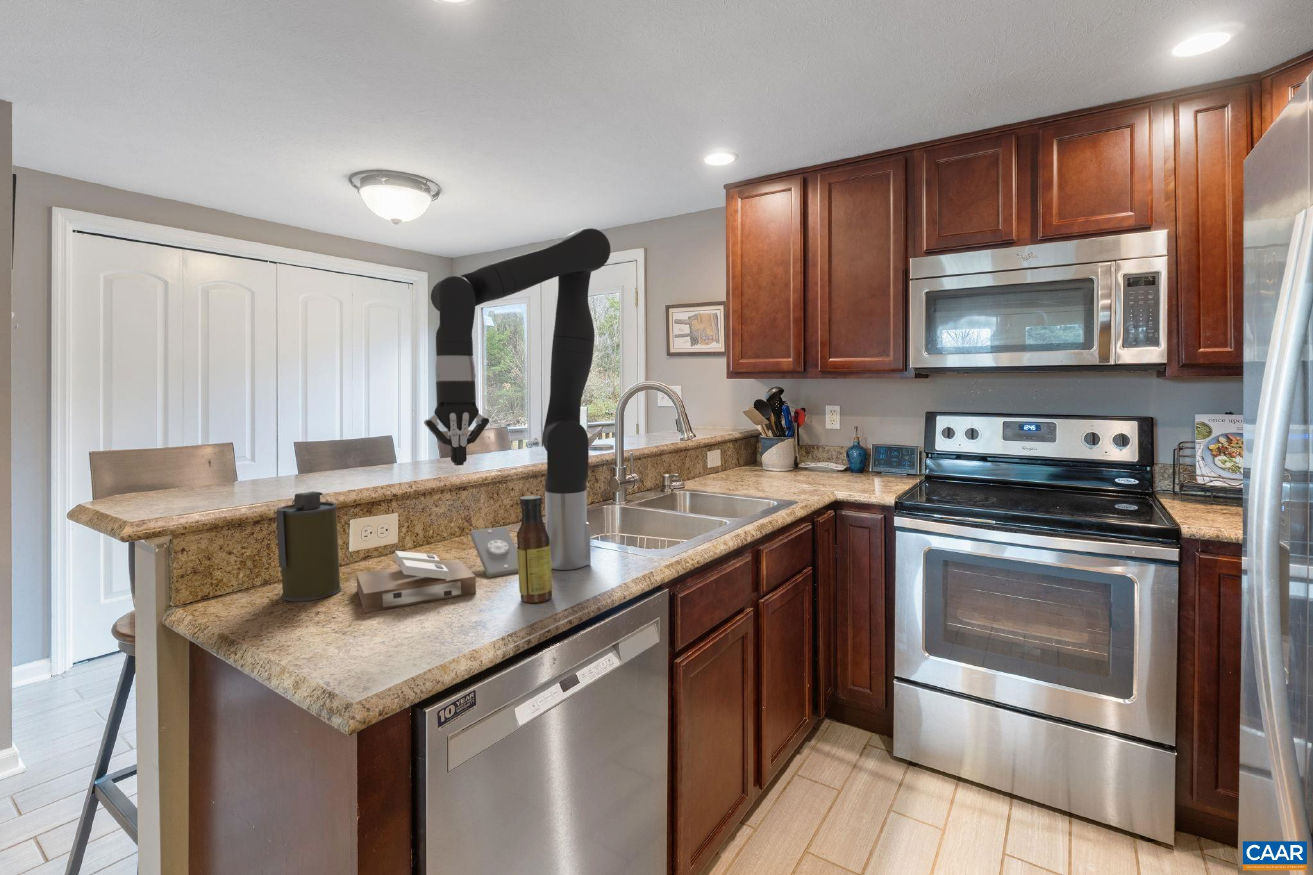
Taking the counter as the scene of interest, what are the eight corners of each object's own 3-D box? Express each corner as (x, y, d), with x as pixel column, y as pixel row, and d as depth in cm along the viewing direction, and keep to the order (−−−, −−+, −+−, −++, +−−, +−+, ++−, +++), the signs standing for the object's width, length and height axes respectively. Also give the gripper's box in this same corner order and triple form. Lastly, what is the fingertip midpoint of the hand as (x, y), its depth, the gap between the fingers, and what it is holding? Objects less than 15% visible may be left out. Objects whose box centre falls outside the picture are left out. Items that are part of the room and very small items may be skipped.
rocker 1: (433, 562, 132) (435, 553, 132) (438, 568, 128) (440, 559, 128) (393, 558, 128) (395, 549, 128) (397, 564, 124) (399, 555, 124)
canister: (318, 581, 131) (314, 487, 130) (353, 588, 127) (348, 491, 125) (267, 597, 122) (261, 496, 120) (302, 606, 117) (296, 500, 115)
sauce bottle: (558, 595, 122) (556, 495, 121) (542, 606, 117) (540, 500, 115) (528, 591, 125) (526, 493, 123) (511, 602, 119) (509, 498, 117)
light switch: (489, 571, 133) (470, 527, 143) (485, 591, 136) (467, 546, 146) (527, 564, 138) (506, 522, 148) (523, 584, 140) (502, 541, 150)
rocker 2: (441, 572, 125) (443, 563, 125) (446, 579, 121) (449, 570, 121) (399, 567, 121) (402, 558, 121) (404, 574, 117) (406, 564, 117)
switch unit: (459, 574, 136) (458, 559, 135) (477, 594, 123) (476, 577, 123) (357, 590, 126) (356, 573, 125) (365, 613, 113) (364, 594, 113)
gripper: (483, 379, 132) (486, 460, 134) (417, 379, 125) (421, 465, 127) (493, 378, 126) (496, 464, 127) (424, 379, 119) (428, 469, 120)
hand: (458, 464), depth 127 cm, fingers closed
